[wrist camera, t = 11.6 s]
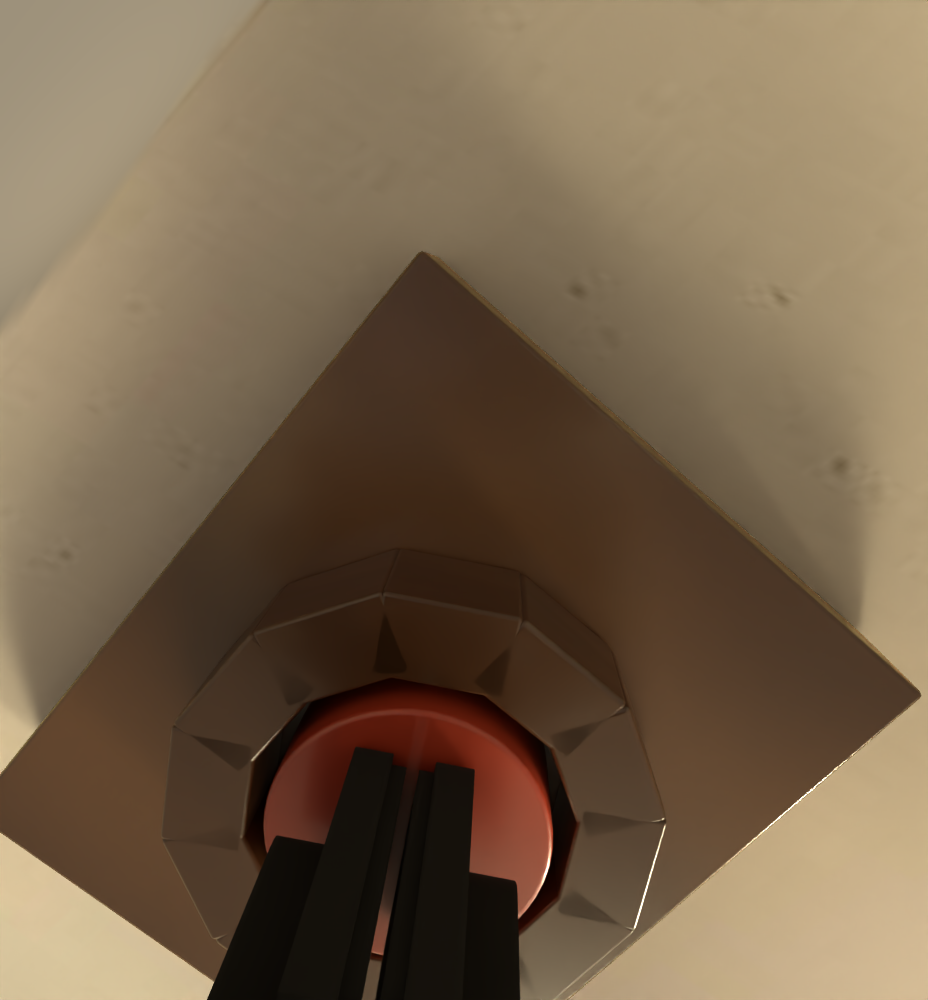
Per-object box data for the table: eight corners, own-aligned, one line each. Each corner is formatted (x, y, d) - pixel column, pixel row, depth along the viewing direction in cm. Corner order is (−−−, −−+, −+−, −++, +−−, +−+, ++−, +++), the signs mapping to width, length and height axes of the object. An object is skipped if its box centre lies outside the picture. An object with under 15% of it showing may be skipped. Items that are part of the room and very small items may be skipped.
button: (401, 599, 12) (385, 652, 10) (600, 760, 12) (615, 835, 11) (243, 774, 13) (203, 849, 11) (434, 916, 13) (424, 1007, 12)
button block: (434, 254, 13) (405, 241, 9) (863, 635, 14) (995, 765, 10) (40, 741, 16) (-110, 890, 12) (431, 1023, 17) (410, 1240, 13)
